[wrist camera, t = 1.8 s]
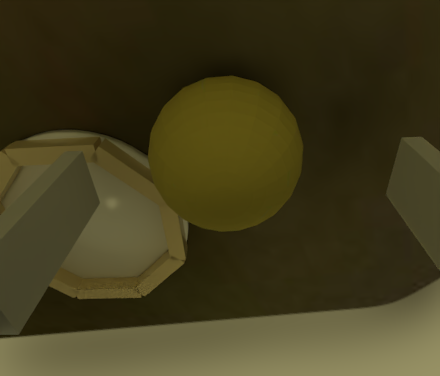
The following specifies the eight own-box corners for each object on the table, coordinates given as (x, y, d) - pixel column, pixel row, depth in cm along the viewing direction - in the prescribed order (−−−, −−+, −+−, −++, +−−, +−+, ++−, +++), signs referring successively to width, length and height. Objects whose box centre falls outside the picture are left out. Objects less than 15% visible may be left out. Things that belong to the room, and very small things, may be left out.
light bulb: (271, 158, 21) (298, 271, 13) (173, 150, 21) (136, 259, 13) (290, 53, 18) (346, 115, 9) (172, 43, 17) (119, 97, 9)
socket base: (39, 283, 29) (27, 302, 27) (-47, 135, 21) (-71, 148, 19) (198, 279, 28) (196, 298, 27) (174, 123, 20) (169, 136, 18)
